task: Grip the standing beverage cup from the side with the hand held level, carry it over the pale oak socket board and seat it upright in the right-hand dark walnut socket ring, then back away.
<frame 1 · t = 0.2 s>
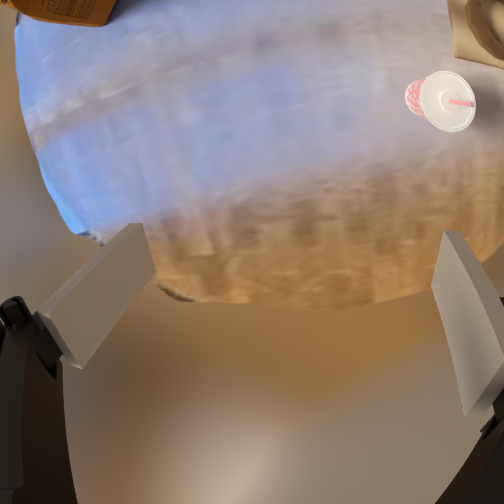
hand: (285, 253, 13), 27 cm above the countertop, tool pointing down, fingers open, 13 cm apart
beverage cup: (421, 98, 30), on the countertop
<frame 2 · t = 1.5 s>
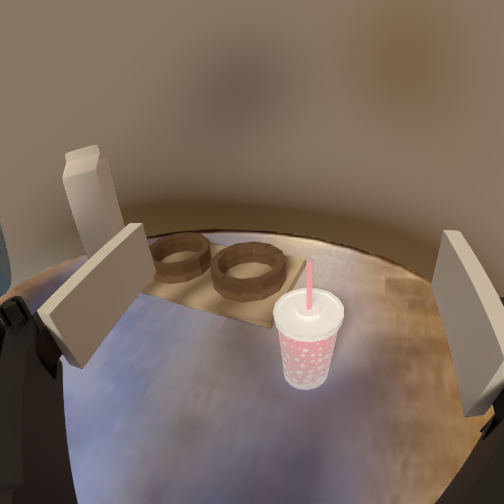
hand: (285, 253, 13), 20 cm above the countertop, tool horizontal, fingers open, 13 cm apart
beverage cup: (305, 373, 31), on the countertop
socket board: (214, 277, 47), on the countertop
milk: (116, 271, 51), on the countertop
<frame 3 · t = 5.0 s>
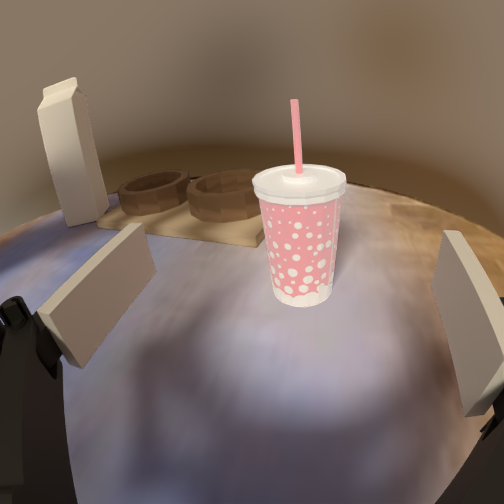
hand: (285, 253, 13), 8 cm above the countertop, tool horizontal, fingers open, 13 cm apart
beverage cup: (302, 290, 24), on the countertop
socket board: (193, 210, 40), on the countertop
milk: (89, 217, 45), on the countertop
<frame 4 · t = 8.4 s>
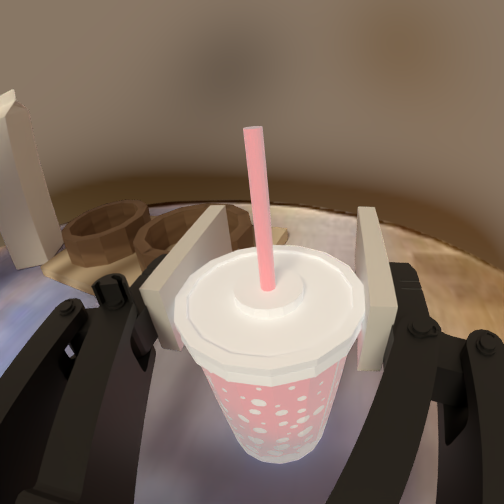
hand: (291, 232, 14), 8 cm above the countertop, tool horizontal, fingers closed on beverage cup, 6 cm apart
beverage cup: (279, 427, 14), on the countertop, touching gripper
socket board: (151, 259, 31), on the countertop
milk: (41, 256, 35), on the countertop
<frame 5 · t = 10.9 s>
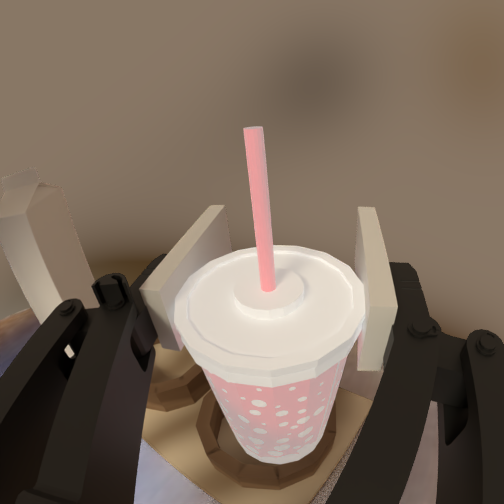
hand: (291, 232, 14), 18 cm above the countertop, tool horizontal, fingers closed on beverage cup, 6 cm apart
beverage cup: (279, 427, 14), point 9 cm above the countertop, touching gripper
socket board: (215, 406, 26), on the countertop
milk: (90, 346, 33), on the countertop
when the fingers open (11 cm above the countertop, at t = 13.5 s): beverage cup drops 1 cm, resting on socket board.
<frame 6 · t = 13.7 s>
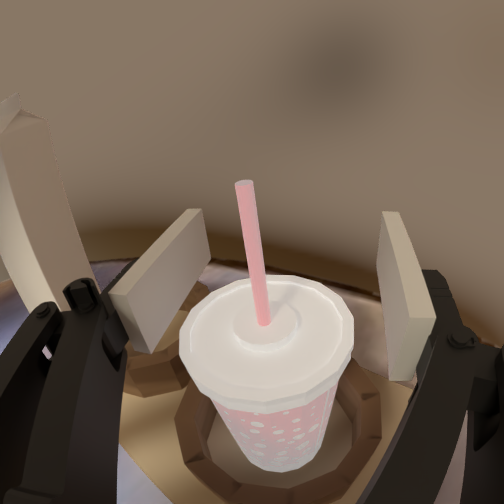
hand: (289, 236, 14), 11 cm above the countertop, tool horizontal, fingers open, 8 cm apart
beverage cup: (281, 437, 15), point 1 cm above the countertop, touching socket board
socket board: (210, 395, 19), on the countertop
milk: (71, 315, 28), on the countertop
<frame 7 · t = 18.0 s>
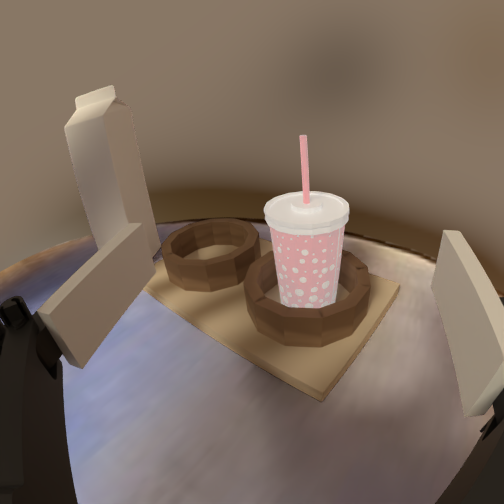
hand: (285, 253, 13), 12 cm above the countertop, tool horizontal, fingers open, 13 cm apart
beverage cup: (308, 305, 26), point 1 cm above the countertop, touching socket board
socket board: (256, 291, 31), on the countertop
milk: (134, 259, 39), on the countertop
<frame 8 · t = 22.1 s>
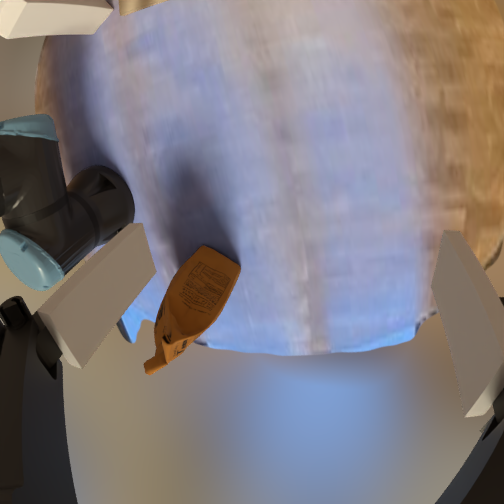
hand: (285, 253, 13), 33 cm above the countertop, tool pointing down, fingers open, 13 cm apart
coffee package: (210, 272, 58), on the countertop
milk: (96, 13, 35), on the countertop
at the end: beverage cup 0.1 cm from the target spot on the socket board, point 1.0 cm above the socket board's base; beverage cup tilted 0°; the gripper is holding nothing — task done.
